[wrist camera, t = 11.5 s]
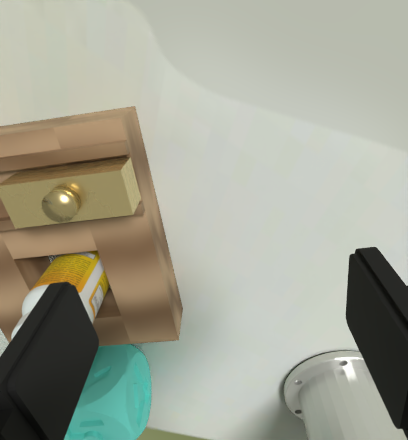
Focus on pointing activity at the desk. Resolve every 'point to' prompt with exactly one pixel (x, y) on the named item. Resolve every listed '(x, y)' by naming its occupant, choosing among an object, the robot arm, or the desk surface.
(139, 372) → the decorative dice
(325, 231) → the desk surface
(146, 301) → the socket block
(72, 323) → the robot arm
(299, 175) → the desk surface
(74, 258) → the supplement bottle
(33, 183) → the latch bar
